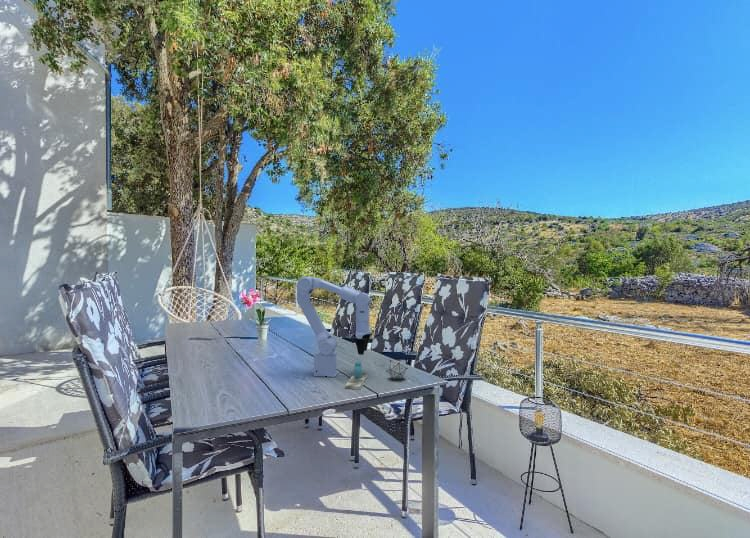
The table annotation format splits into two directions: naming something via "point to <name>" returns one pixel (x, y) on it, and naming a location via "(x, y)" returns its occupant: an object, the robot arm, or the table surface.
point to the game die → (396, 369)
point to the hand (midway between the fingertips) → (362, 352)
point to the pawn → (358, 370)
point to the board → (355, 382)
